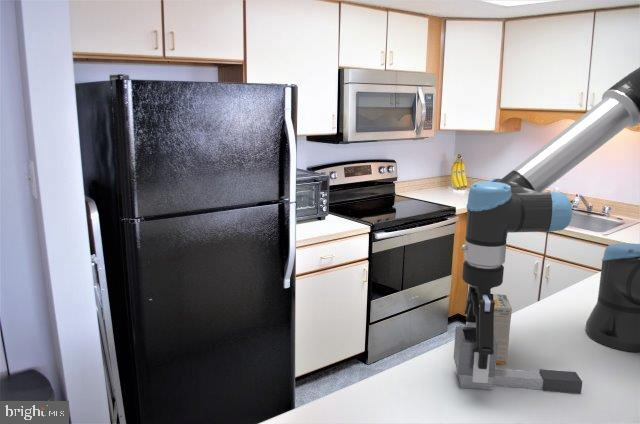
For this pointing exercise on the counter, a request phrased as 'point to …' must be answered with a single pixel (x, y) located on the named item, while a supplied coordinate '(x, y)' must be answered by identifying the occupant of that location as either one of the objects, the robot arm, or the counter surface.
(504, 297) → the supplement box
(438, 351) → the counter surface
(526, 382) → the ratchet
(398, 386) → the counter surface
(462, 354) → the hollow square tube
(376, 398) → the counter surface
